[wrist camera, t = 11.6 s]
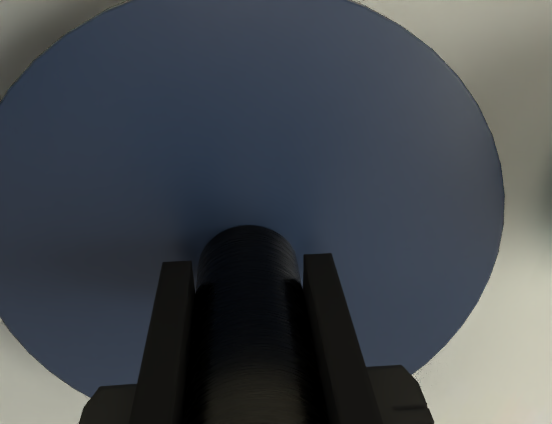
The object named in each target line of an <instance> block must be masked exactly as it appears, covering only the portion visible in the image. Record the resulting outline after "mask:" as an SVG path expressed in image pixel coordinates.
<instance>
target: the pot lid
mask: <svg viewBox="0 0 552 424" xmlns="http://www.w3.org/2000/svg"><path fill="white" fill-rule="evenodd" d="M504 199H505V194H504V186H503V178H502V170H501V163H500V160H499V156H498V153H497V149H496V146H495V142H494V139H493V135H492V133H491V131H490V129H489V127H488V125H487V122H486V120H485V118H484V116H483V114H482V112H481V110H480V108H479V106H478V104H477V102H476V101H475V100H474V98H473V97H472V95H471V94H470V92H469V91H468V89H467V88H466V87H465V85H464V84H463V82H462V81H461V79H460V78H459V76H458V75H457V74H456V73H455V72H454V71H453V70H452V69H451V68H450V67H449V66H448V65H447V64H446V63H445V62H444V61H443V60H442V59H441V58H440V57H439V56H438V54H437V53H436V52H435V51H434V50H433V49H431V48H430V47H429V46H428V45H426V44H425V43H424V42H422V41H421V40H420V39H418V38H417V37H416V36H414V35H413V34H412V33H410V32H409V31H408V30H406V29H405V28H404V27H402V26H401V25H399V24H398V23H396V22H394V21H392V20H390V19H388V18H386V17H385V16H383V15H381V14H379V13H377V12H375V11H373V10H372V9H370V8H368V7H366V6H364V5H362V4H360V3H358V2H355V1H352V0H128V1H125V2H123V3H120V4H118V5H115V6H113V7H110V8H108V9H106V10H104V11H103V12H101V13H99V14H98V15H96V16H94V17H92V18H91V19H89V20H87V21H86V22H84V23H82V24H81V25H79V26H77V27H76V28H74V29H72V30H71V31H69V32H67V33H66V34H65V35H63V36H62V37H61V38H60V39H59V40H57V41H56V42H55V43H54V44H53V45H51V46H50V47H49V48H48V49H46V50H45V51H44V52H43V53H42V54H40V55H39V56H38V57H37V58H36V59H34V60H33V61H32V63H31V64H30V65H29V66H28V67H27V68H26V70H25V71H24V72H23V73H22V74H21V75H20V76H19V78H18V79H17V80H16V81H15V82H14V83H13V85H12V86H11V87H10V88H9V89H8V90H7V92H6V94H5V95H4V97H3V99H2V100H1V102H0V317H1V319H2V320H3V322H4V323H5V325H6V326H7V328H8V329H9V331H10V332H11V333H12V334H13V335H14V337H15V338H16V339H17V340H18V341H19V342H20V343H21V345H22V346H23V347H24V348H25V349H26V350H27V351H28V353H29V354H31V355H32V356H33V357H34V358H35V359H36V360H37V361H38V362H40V363H41V364H42V365H43V366H44V367H45V368H46V369H47V370H49V371H50V372H51V373H52V374H54V375H55V376H57V377H58V378H59V379H61V380H62V381H64V382H65V383H67V384H68V385H69V386H71V387H72V388H74V389H76V390H77V391H79V392H81V393H83V394H85V395H86V396H88V397H90V398H91V397H92V396H93V395H94V393H95V392H96V391H97V389H98V388H99V387H100V386H110V385H125V384H137V382H138V377H139V372H140V367H141V362H142V358H143V353H144V348H145V343H146V339H147V334H148V329H149V324H150V320H151V315H152V310H153V305H154V300H155V296H156V291H157V286H158V281H159V277H160V272H161V267H162V262H171V261H190V260H191V261H192V269H193V277H194V286H195V303H194V313H193V323H192V333H191V343H190V353H189V363H188V373H187V383H186V393H185V403H184V413H183V423H182V424H329V421H328V415H327V410H326V405H325V400H324V395H323V390H322V385H321V380H320V375H319V369H318V364H317V359H316V354H315V349H314V344H313V339H312V334H311V329H310V324H309V318H308V313H307V308H306V303H305V298H304V293H303V259H304V254H322V253H332V256H333V260H334V263H335V266H336V269H337V273H338V276H339V279H340V283H341V286H342V289H343V292H344V296H345V299H346V302H347V306H348V309H349V312H350V316H351V319H352V322H353V325H354V329H355V332H356V335H357V339H358V342H359V345H360V349H361V352H362V355H363V358H364V362H365V365H366V367H372V366H387V365H402V366H403V367H404V368H405V369H406V370H407V371H408V372H409V373H410V374H411V375H412V374H413V373H415V372H416V371H417V370H419V369H420V368H421V367H422V366H424V365H425V364H426V363H427V362H428V361H429V360H431V359H432V358H433V357H434V356H435V355H436V354H437V353H438V352H439V351H440V350H441V349H442V348H443V347H444V346H445V345H446V344H447V343H448V342H449V341H450V339H451V338H452V337H453V336H454V335H455V333H456V332H457V331H458V330H459V329H460V328H461V326H462V325H463V324H464V322H465V321H466V319H467V318H468V316H469V315H470V313H471V312H472V310H473V309H474V307H475V306H476V304H477V303H478V301H479V299H480V297H481V295H482V293H483V291H484V288H485V286H486V284H487V282H488V280H489V278H490V275H491V273H492V270H493V267H494V264H495V261H496V258H497V255H498V252H499V246H500V241H501V236H502V230H503V225H504Z"/></svg>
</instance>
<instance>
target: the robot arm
mask: <svg viewBox="0 0 552 424" xmlns="http://www.w3.org/2000/svg"><path fill="white" fill-rule="evenodd" d="M303 293H304V298H305V303H306V308H307V313H308V318H309V324H310V329H311V334H312V339H313V344H314V349H315V354H316V359H317V364H318V369H319V375H320V380H321V385H322V390H323V395H324V400H325V405H326V410H327V415H328V421H329V424H434V420H433V418H432V415H431V413H430V410H429V408H427V403H426V401H425V398H424V396H423V393H422V391H421V388H420V386H419V383H418V382H417V381H416V380H415V379H414V378H413V376H412V375H411V374H410V373H409V372H408V371H407V370H406V369H405V368H404V367H403V366H402V365H387V366H372V367H366V365H365V362H364V358H363V355H362V352H361V349H360V345H359V342H358V339H357V335H356V332H355V329H354V325H353V322H352V319H351V316H350V312H349V309H348V306H347V302H346V299H345V296H344V292H343V289H342V286H341V283H340V279H339V276H338V273H337V269H336V266H335V263H334V260H333V256H332V253H322V254H304V259H303ZM194 303H195V286H194V277H193V269H192V261H191V260H190V261H171V262H162V267H161V272H160V277H159V281H158V286H157V291H156V296H155V300H154V305H153V310H152V315H151V320H150V324H149V329H148V334H147V339H146V343H145V348H144V353H143V358H142V362H141V367H140V372H139V377H138V382H137V384H125V385H110V386H100V387H99V388H98V389H97V391H96V392H95V393H94V395H93V396H92V397H91V399H90V400H89V401H88V402H87V404H86V405H85V406H84V408H83V412H82V415H81V418H80V421H79V424H182V423H183V413H184V403H185V393H186V383H187V373H188V363H189V353H190V343H191V333H192V323H193V313H194Z"/></svg>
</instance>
